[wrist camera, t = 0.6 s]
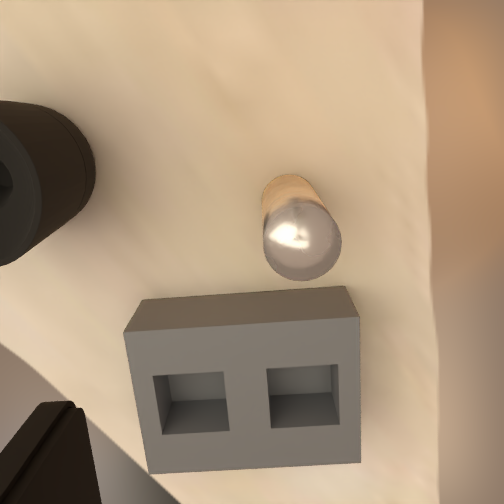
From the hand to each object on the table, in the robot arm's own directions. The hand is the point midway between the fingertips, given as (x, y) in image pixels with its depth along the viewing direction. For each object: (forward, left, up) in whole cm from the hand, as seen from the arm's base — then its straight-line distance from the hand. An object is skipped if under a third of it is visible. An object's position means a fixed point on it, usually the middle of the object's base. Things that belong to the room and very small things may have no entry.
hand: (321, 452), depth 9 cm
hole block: (+13, -3, -26) cm, 30 cm away
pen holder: (-4, -17, -27) cm, 32 cm away
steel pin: (0, +1, -26) cm, 26 cm away
